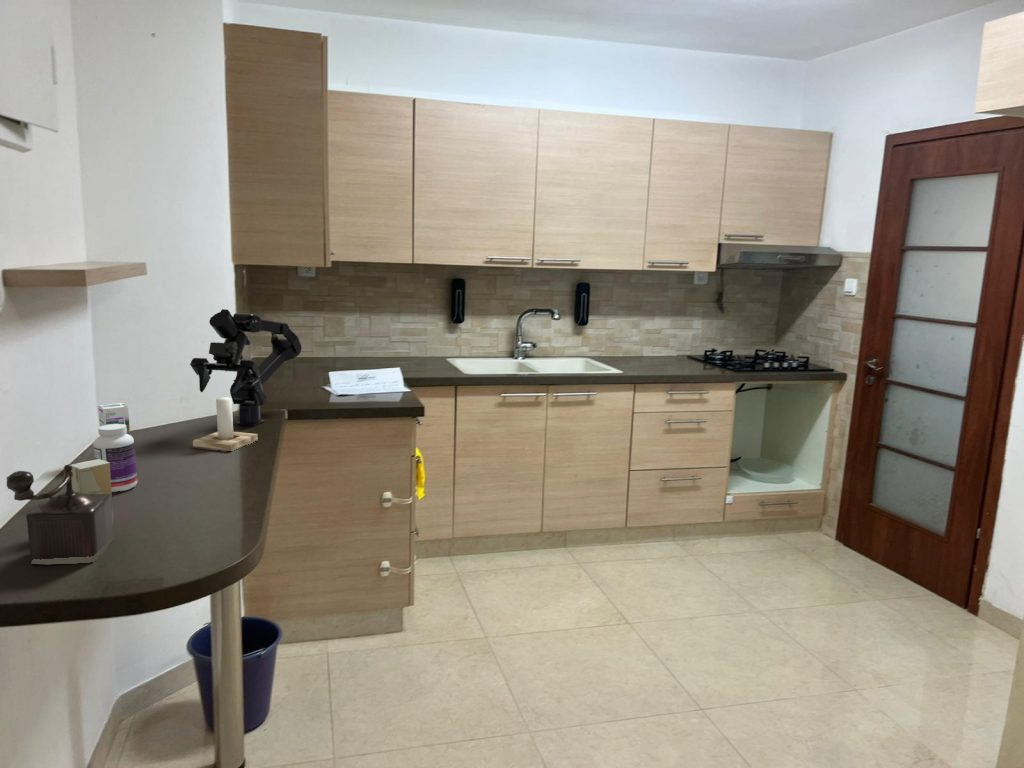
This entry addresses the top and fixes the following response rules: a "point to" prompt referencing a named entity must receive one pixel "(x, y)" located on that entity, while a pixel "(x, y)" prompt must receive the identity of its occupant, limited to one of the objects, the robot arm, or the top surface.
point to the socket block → (231, 445)
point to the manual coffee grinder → (64, 518)
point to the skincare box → (92, 477)
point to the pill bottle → (117, 455)
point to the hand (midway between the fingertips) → (216, 392)
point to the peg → (224, 418)
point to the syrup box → (114, 415)
